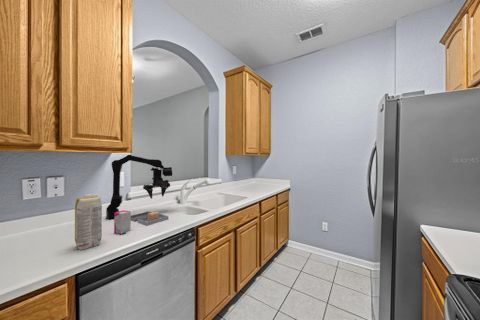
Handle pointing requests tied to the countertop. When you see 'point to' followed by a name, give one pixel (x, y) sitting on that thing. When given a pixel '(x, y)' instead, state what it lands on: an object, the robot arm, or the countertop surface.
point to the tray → (146, 222)
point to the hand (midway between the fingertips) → (157, 197)
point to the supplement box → (122, 222)
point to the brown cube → (153, 216)
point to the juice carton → (88, 221)
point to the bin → (139, 216)
